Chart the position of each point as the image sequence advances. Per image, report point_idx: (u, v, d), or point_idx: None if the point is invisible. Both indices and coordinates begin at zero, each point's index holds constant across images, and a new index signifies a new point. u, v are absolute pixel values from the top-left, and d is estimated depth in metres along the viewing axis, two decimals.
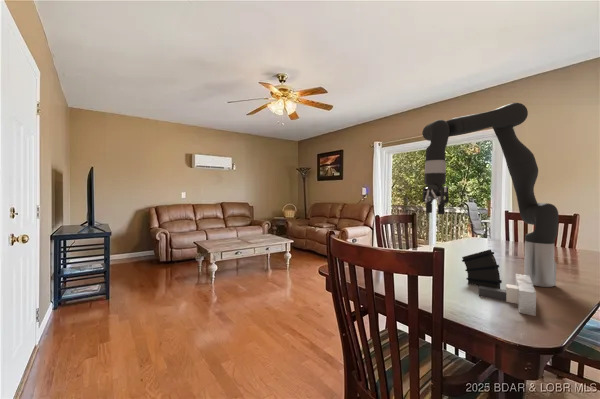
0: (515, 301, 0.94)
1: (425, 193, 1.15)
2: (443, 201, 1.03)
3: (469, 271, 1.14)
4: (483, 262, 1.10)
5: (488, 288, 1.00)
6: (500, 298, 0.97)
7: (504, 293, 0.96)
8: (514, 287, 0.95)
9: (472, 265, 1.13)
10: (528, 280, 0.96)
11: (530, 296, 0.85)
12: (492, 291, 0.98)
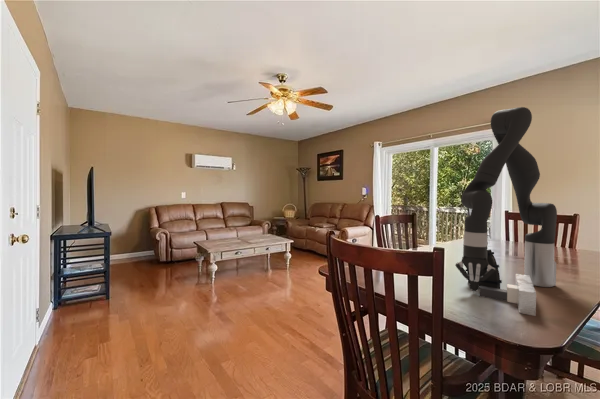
0: (516, 301, 0.94)
1: (487, 271, 1.01)
2: None
3: None
4: None
5: (489, 288, 1.00)
6: (501, 298, 0.97)
7: (505, 293, 0.96)
8: (515, 287, 0.95)
9: None
10: (528, 280, 0.96)
11: (530, 296, 0.85)
12: (493, 291, 0.98)
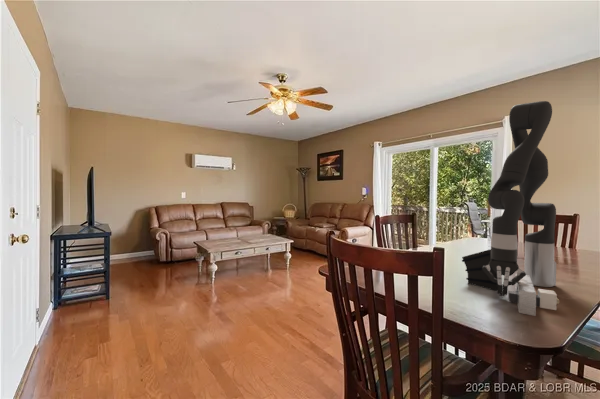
0: (550, 307, 0.89)
1: (517, 275, 0.96)
2: None
3: (469, 271, 1.14)
4: (483, 262, 1.10)
5: None
6: None
7: (537, 298, 0.91)
8: (548, 292, 0.90)
9: (472, 265, 1.13)
10: (528, 280, 0.96)
11: (530, 296, 0.85)
12: None
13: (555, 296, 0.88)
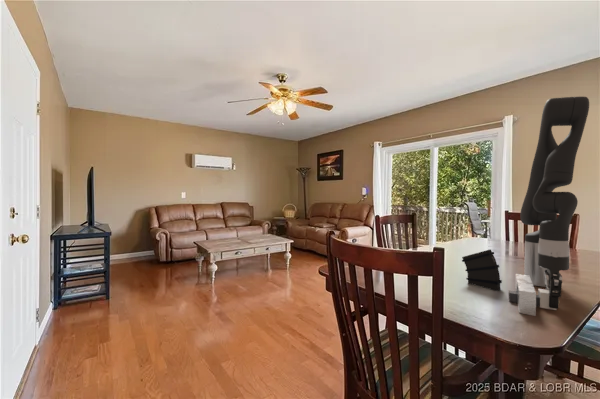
0: None
1: None
2: None
3: (469, 271, 1.14)
4: (483, 262, 1.10)
5: None
6: None
7: (537, 298, 0.91)
8: (548, 292, 0.90)
9: (472, 265, 1.13)
10: (528, 280, 0.96)
11: (530, 296, 0.85)
12: None
13: None
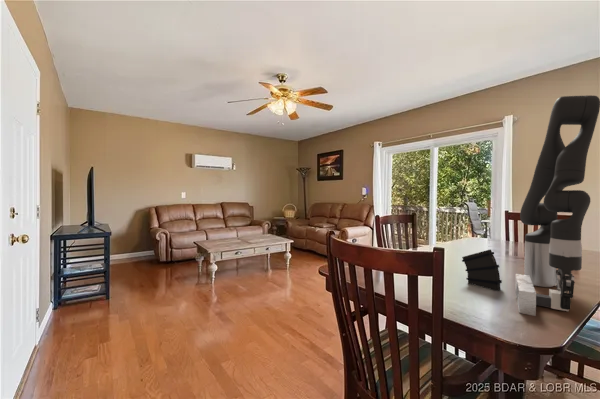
0: (561, 308, 0.87)
1: None
2: None
3: (469, 271, 1.14)
4: (483, 262, 1.10)
5: None
6: (544, 304, 0.90)
7: (548, 299, 0.89)
8: None
9: (472, 265, 1.13)
10: (528, 280, 0.96)
11: (530, 296, 0.85)
12: None
13: None
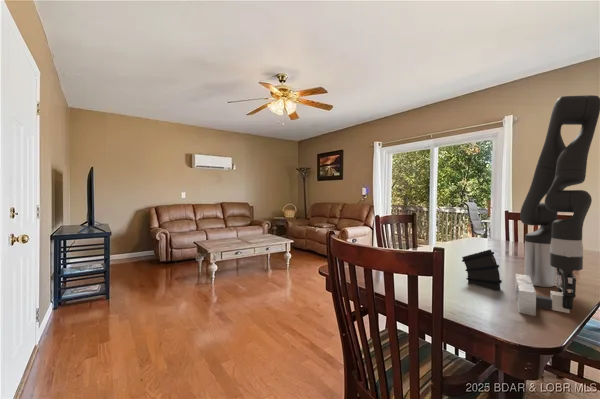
0: (562, 310, 0.87)
1: None
2: None
3: (469, 271, 1.14)
4: (483, 262, 1.10)
5: None
6: (545, 306, 0.90)
7: (549, 301, 0.89)
8: (561, 294, 0.88)
9: (472, 265, 1.13)
10: (528, 280, 0.96)
11: (530, 296, 0.85)
12: None
13: None
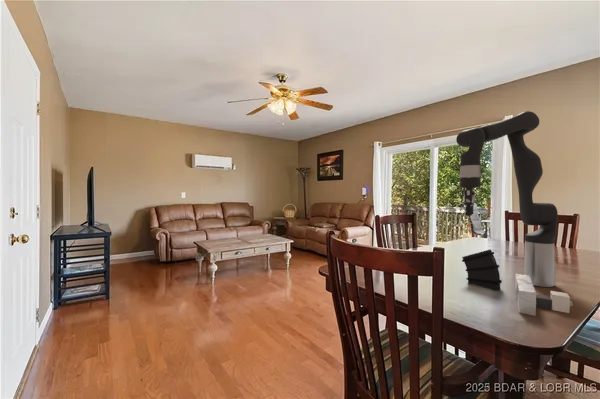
0: (562, 310, 0.87)
1: None
2: None
3: (469, 271, 1.14)
4: (483, 262, 1.10)
5: None
6: (545, 306, 0.90)
7: (549, 301, 0.89)
8: (561, 294, 0.88)
9: (472, 265, 1.13)
10: (528, 280, 0.96)
11: (530, 296, 0.85)
12: None
13: (568, 299, 0.86)
